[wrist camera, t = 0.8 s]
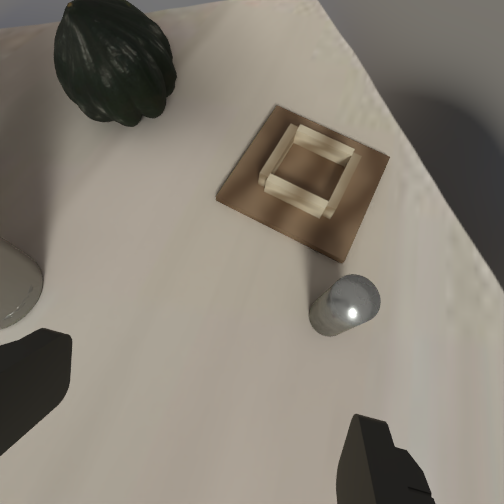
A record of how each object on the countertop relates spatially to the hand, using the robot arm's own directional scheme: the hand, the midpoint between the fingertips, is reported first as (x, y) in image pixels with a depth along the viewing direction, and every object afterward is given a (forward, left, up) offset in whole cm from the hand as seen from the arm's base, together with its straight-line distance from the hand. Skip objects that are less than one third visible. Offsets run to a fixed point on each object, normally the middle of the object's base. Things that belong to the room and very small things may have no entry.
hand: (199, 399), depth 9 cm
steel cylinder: (+7, +13, -28) cm, 32 cm away
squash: (-31, +28, -28) cm, 50 cm away
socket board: (-3, +29, -28) cm, 40 cm away
